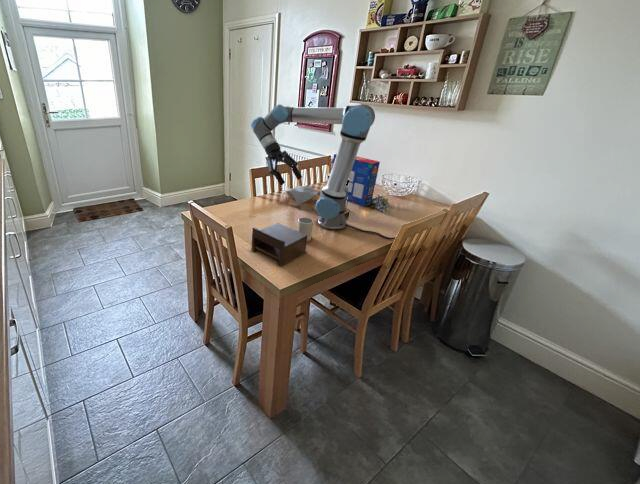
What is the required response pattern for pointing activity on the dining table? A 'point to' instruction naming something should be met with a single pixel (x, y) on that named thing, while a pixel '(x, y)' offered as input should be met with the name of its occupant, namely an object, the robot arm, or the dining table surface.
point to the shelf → (279, 242)
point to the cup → (305, 226)
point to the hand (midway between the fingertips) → (291, 181)
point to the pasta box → (362, 180)
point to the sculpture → (301, 194)
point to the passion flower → (380, 203)
